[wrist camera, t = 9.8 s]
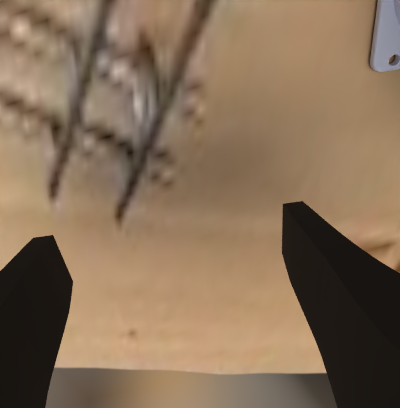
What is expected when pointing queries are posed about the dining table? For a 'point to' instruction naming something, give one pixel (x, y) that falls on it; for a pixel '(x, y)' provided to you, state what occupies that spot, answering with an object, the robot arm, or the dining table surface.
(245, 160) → the dining table surface
